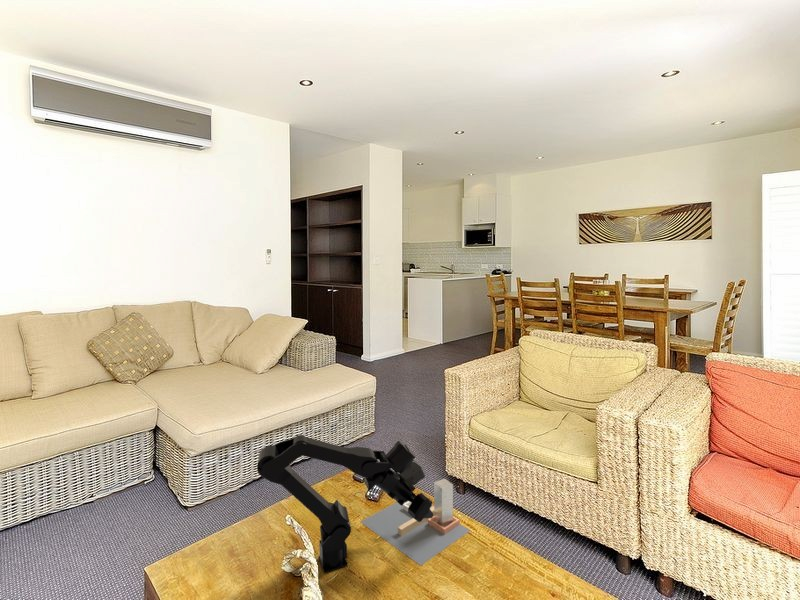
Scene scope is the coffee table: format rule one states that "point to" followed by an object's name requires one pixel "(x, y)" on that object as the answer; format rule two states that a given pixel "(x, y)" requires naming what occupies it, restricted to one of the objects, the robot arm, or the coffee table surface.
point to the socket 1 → (407, 504)
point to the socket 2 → (442, 529)
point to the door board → (411, 533)
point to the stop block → (443, 502)
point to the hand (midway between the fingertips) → (423, 508)
